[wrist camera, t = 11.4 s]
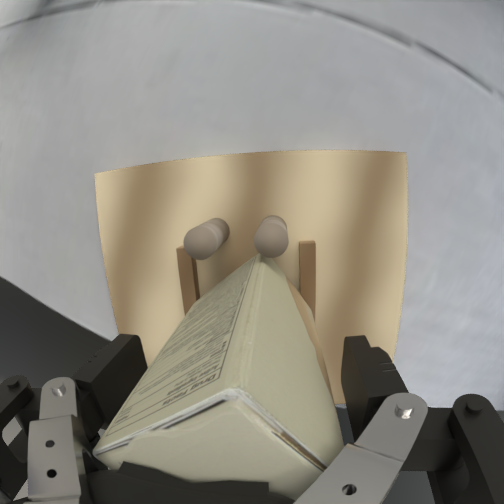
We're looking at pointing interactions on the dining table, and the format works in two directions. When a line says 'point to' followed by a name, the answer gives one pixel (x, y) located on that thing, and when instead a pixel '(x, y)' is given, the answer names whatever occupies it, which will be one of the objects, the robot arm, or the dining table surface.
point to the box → (234, 392)
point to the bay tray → (260, 239)
